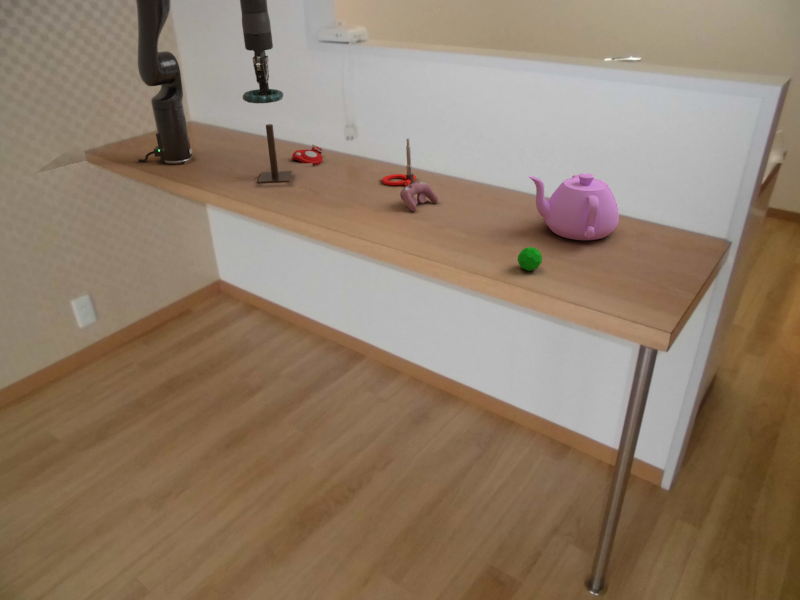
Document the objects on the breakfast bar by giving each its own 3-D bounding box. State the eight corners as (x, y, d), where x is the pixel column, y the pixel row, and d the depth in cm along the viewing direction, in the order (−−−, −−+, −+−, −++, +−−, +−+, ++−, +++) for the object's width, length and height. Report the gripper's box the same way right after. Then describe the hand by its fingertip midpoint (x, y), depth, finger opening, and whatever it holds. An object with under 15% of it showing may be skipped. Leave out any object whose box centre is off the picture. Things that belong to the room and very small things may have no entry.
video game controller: (429, 205, 168) (421, 180, 166) (440, 201, 164) (432, 176, 163) (403, 215, 162) (394, 189, 160) (414, 211, 158) (405, 185, 157)
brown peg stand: (258, 186, 178) (251, 129, 170) (262, 176, 186) (255, 121, 178) (289, 185, 179) (283, 128, 171) (292, 175, 187) (286, 120, 178)
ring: (240, 104, 167) (239, 97, 166) (246, 96, 176) (245, 88, 175) (281, 103, 168) (280, 95, 167) (284, 95, 177) (284, 87, 176)
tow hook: (377, 185, 179) (407, 187, 175) (374, 141, 173) (405, 142, 169) (389, 177, 186) (417, 179, 182) (386, 134, 179) (415, 135, 176)
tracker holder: (324, 162, 194) (292, 156, 192) (322, 174, 197) (290, 168, 195) (324, 143, 203) (294, 137, 201) (322, 155, 206) (292, 149, 204)
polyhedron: (512, 269, 130) (514, 248, 128) (525, 261, 133) (527, 241, 131) (532, 276, 127) (534, 255, 125) (545, 269, 130) (547, 248, 127)
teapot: (517, 213, 157) (522, 160, 151) (603, 213, 157) (611, 160, 150) (530, 249, 138) (536, 191, 131) (628, 250, 137) (639, 191, 131)
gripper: (246, 28, 173) (254, 92, 182) (239, 33, 161) (248, 101, 170) (273, 27, 174) (280, 91, 182) (268, 32, 162) (276, 100, 170)
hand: (265, 96), depth 176 cm, fingers closed on ring, 2 cm apart
